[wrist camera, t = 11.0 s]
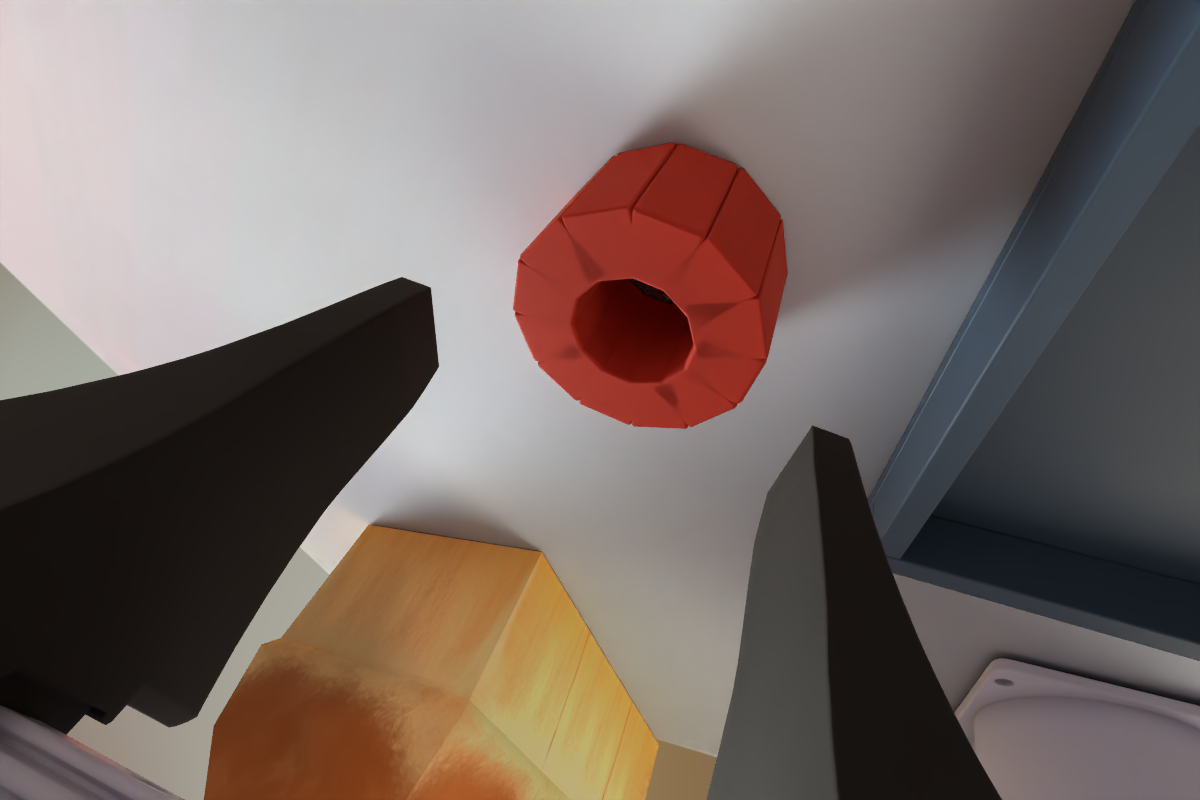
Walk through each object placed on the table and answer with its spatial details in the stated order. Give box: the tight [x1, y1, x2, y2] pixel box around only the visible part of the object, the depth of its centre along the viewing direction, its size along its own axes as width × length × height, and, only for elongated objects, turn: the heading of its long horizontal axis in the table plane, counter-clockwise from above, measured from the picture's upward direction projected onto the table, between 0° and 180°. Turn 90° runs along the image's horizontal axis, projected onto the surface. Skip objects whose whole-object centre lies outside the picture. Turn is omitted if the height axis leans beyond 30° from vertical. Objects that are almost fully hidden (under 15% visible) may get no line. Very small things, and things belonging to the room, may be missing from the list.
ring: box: [513, 142, 788, 429], centre depth 12 cm, size 5×5×3 cm
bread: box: [204, 525, 659, 800], centre depth 31 cm, size 25×12×15 cm, turn 18°
